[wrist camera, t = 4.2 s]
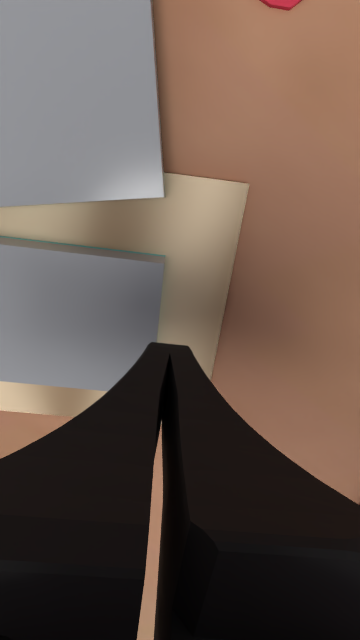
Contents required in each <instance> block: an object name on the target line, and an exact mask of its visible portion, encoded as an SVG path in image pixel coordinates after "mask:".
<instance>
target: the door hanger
mask: <svg viewBox="0 0 360 640" xmlns="http://www.w3.org/2000/svg"><path fill="white" fill-rule="evenodd" d="M260 1H261V2H263V3H264V4H266V5H267V6H269V7H272V8H278V9H283V10H290V9H292V8H293V7H294V6H295V5H297V4H298V3H299V2H301V1H302V0H260Z"/></svg>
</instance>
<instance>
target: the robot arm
mask: <svg viewBox="0 0 360 640" xmlns="http://www.w3.org/2000/svg"><path fill="white" fill-rule="evenodd" d="M161 421H162V459H163V508H162V524H161V540H160V555H159V571H158V586H157V600H156V615H155V629H154V640H360V505H358V504H356V503H355V502H353V501H352V500H350V499H348V498H347V497H345V496H344V495H342V494H340V493H339V492H337V491H336V490H334V489H333V488H331V487H329V486H328V485H326V484H325V483H323V482H321V481H320V480H318V479H317V478H315V477H314V476H312V475H311V474H310V473H308V472H307V471H305V470H304V469H303V468H301V467H300V466H298V465H297V464H296V463H294V462H293V461H292V460H290V459H289V458H288V457H286V456H285V455H284V454H282V453H281V452H280V451H279V450H277V449H276V448H275V447H273V446H272V445H271V444H270V443H269V442H268V441H266V440H265V439H264V438H263V437H262V436H261V435H259V434H258V433H257V432H256V431H255V430H254V429H253V428H252V427H250V426H249V425H248V424H247V423H246V422H245V421H244V420H243V419H242V418H241V417H240V416H239V415H238V414H237V413H236V412H235V411H234V410H233V409H232V408H231V406H230V405H229V404H228V403H227V402H226V401H225V399H224V398H223V397H222V396H221V394H220V393H219V392H218V391H217V389H216V388H215V387H214V385H213V384H212V382H211V381H210V380H209V378H208V377H207V375H206V374H205V372H204V371H203V369H202V368H201V366H200V364H199V363H198V361H197V359H196V358H195V356H194V354H193V352H192V350H191V349H190V347H189V346H186V345H176V344H167V343H157V342H151V343H149V344H148V345H147V347H146V349H145V351H144V352H143V353H142V355H141V356H140V357H139V359H138V360H137V361H136V362H135V364H134V365H133V366H132V367H131V368H130V369H129V371H128V372H127V373H126V374H125V375H124V376H123V377H122V378H121V379H120V380H119V381H118V382H117V383H116V384H115V385H114V386H113V387H112V388H111V389H110V390H109V391H108V392H106V393H105V394H104V395H103V396H102V397H101V398H100V399H98V400H97V401H96V402H95V403H93V404H92V405H91V406H90V407H88V408H87V409H86V410H84V411H83V412H81V413H80V414H79V415H77V416H76V417H74V418H73V419H71V420H70V421H69V422H67V423H66V424H64V425H63V426H61V427H59V428H58V429H56V430H54V431H53V432H51V433H49V434H48V435H46V436H44V437H42V438H41V439H39V440H37V441H35V442H33V443H31V444H29V445H28V446H26V447H24V448H22V449H20V450H18V451H16V452H14V453H12V454H10V455H8V456H6V457H3V458H1V459H0V640H137V632H138V625H139V617H140V609H141V602H142V594H143V586H144V578H145V568H146V557H147V545H148V534H149V522H150V507H151V493H152V479H153V465H154V458H155V453H156V447H157V442H158V437H159V431H160V426H161Z"/></svg>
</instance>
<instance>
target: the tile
mask: <svg viewBox="0 0 360 640" xmlns="http://www.w3.org/2000/svg"><path fill="white" fill-rule="evenodd" d="M165 257H166V255H159V254H151V253H143V252H134V251H126V250H117V249H109V248H101V247H92V246H84V245H75V244H67V243H58V242H50V241H42V240H33V239H25V238H16V237H8V236H0V381H4V382H14V383H25V384H35V385H46V386H56V387H67V388H77V389H88V390H99V391H109V390H110V389H111V388H112V387H113V386H114V385H115V384H116V383H117V382H118V381H119V380H120V379H121V378H122V377H123V376H124V375H125V374H126V373H127V372H128V371H129V369H130V368H131V367H132V366H133V365H134V364H135V362H136V361H137V360H138V359H139V357H140V356H141V355H142V353H143V352H144V351H145V349H146V347H147V345H148V344H149V343H151V342H157V337H158V327H159V317H160V307H161V297H162V287H163V277H164V267H165Z"/></svg>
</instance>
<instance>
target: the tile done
mask: <svg viewBox="0 0 360 640" xmlns="http://www.w3.org/2000/svg"><path fill="white" fill-rule="evenodd" d="M153 198H165V185H164V170H163V155H162V140H161V125H160V110H159V95H158V81H157V66H156V51H155V36H154V21H153V6H152V0H0V208H1V207H18V206H34V205H51V204H68V203H85V202H102V201H119V200H136V199H153Z"/></svg>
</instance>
